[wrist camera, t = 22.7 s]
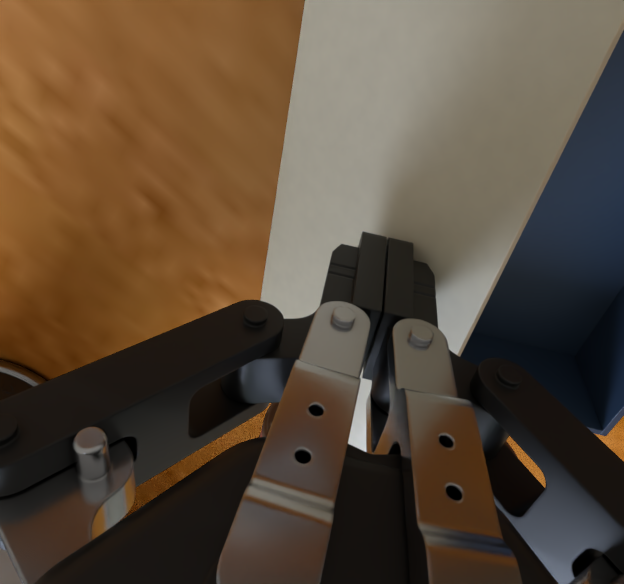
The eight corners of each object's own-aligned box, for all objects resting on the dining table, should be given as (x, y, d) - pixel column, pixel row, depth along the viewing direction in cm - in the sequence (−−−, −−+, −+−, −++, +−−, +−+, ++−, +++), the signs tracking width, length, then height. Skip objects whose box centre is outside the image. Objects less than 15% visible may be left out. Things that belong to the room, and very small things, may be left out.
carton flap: (394, 487, 19) (389, 493, 19) (256, 359, 23) (250, 363, 23) (670, -63, 9) (665, -66, 9) (333, -129, 13) (324, -132, 13)
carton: (576, 357, 28) (605, 436, 24) (278, 286, 28) (255, 352, 24) (833, -11, 17) (970, 13, 13) (349, -121, 17) (329, -131, 13)
